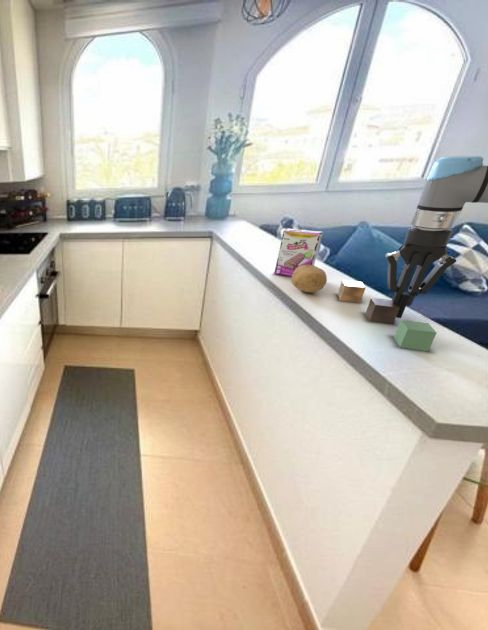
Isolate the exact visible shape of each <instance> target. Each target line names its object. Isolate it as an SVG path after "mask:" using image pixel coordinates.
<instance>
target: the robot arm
mask: <svg viewBox="0 0 488 630" xmlns="http://www.w3.org/2000/svg"><path fill="white" fill-rule="evenodd" d="M483 162H484V157H483V156H481V155H454V156H453V155H451V156H443V157H440V158H438V159H436V160H435V161H434V162H433V164H432V167H431V169H430V171H429V172H428V175H427V178H426V180H425V182H424V185H423V189H422V192H421V195H420V196H419V197H420V198H419V200H418V203H417V206H416V209H415V211H414V213H413V217H412V219H411V222H410V225H411V226H410V227H409V228H408V230H407V233H406V236H405V238H404V241H403V243H402V245H400V246H399V248H398V250H396V251H393V252H386V253H385V254H384V257H385V258H386V260H387V288H388V289H389V291H391V292H394V293H393V296H392V299H391V300H392V303H393V304H395V305H398V306H399V307H400V309H399V311H398V314H397V316H396V319H402V317H403V315H404V312H405V310H406V307H411V305H412V304H413V302H414V299H415V297H417V296H419V294H421V295H425V294H426V295H427V293H428V292H429V291H430V290H431V288H432V287H433V286H434V285H435V284H436V282H437V281H438V280H439V279H440V278H441V276H442V275H443V274H444V273H445V272H446V270H447V269H448V268H449V267H451V266H452V265H454V264H455V263H456V262H457V259H456V258H454V257H453V256H451V255H448V254H447V253H448V250H447V246H448V244H449V242H450V239H451V237H452V235H453V232H454V230H452V229H454V228H455V227H456V225H457V222H458V220H459V218H460V216H461V213H462V211H463V209H464V206H465V204H466V203H472V204H473V203H475V204H477V203H481V204H482V203H484V204H488V165H484V163H483ZM400 257H401V258H402V260H403V262H404V263H403V267H402V270H401V273H400V275H399V277H398V276H397V275H398V263H397V262H398V261H399V259H400ZM436 262H437V263H436ZM434 263H436V264H435V266H433V268H432V269H431V270H430V271H429V268H430V267H431V265H432V264H434ZM427 271H429V273H428V274H427V275H426V273H427ZM413 272H414V273H413ZM412 274H413V275H412ZM425 275H426V277H425ZM411 276H412V278H411ZM397 277H398V278H397ZM397 279H398V280H397ZM410 279H411V280H410ZM407 287H408V288H407ZM406 289H407V291H406Z"/></svg>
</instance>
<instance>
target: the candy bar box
mask: <svg viewBox="0 0 488 630" xmlns="http://www.w3.org/2000/svg"><path fill="white" fill-rule="evenodd" d="M282 232H283V233H282V237H281V242H280V246H279V250H278V253H277V254H278V255H277V259H276V264H275V269H274V275H280V276H285V277H290V278H292V275H293V273H294V271H295V270H296V268H297V267H299V266H301V265H314V266H315V263H316V260H317V256H318V252H319V249H320V245H321V242H322V238H323V234H324V231H318V230H308V229H298V228H288V227H287V228H286V229H284V230H283V231H282Z"/></svg>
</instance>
